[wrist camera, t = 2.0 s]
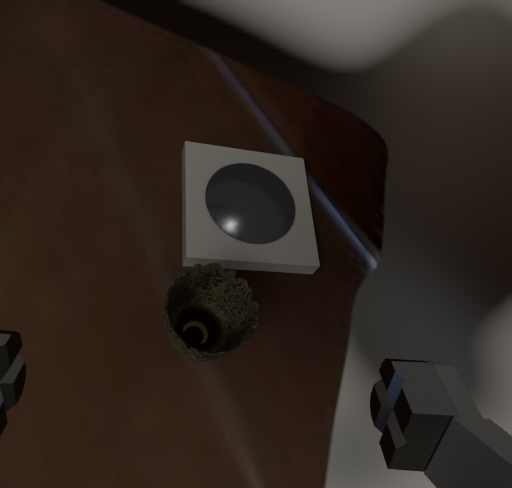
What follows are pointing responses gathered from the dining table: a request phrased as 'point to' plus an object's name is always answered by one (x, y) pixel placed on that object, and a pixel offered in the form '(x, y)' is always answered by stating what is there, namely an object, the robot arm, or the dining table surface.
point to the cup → (209, 312)
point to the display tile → (246, 210)
